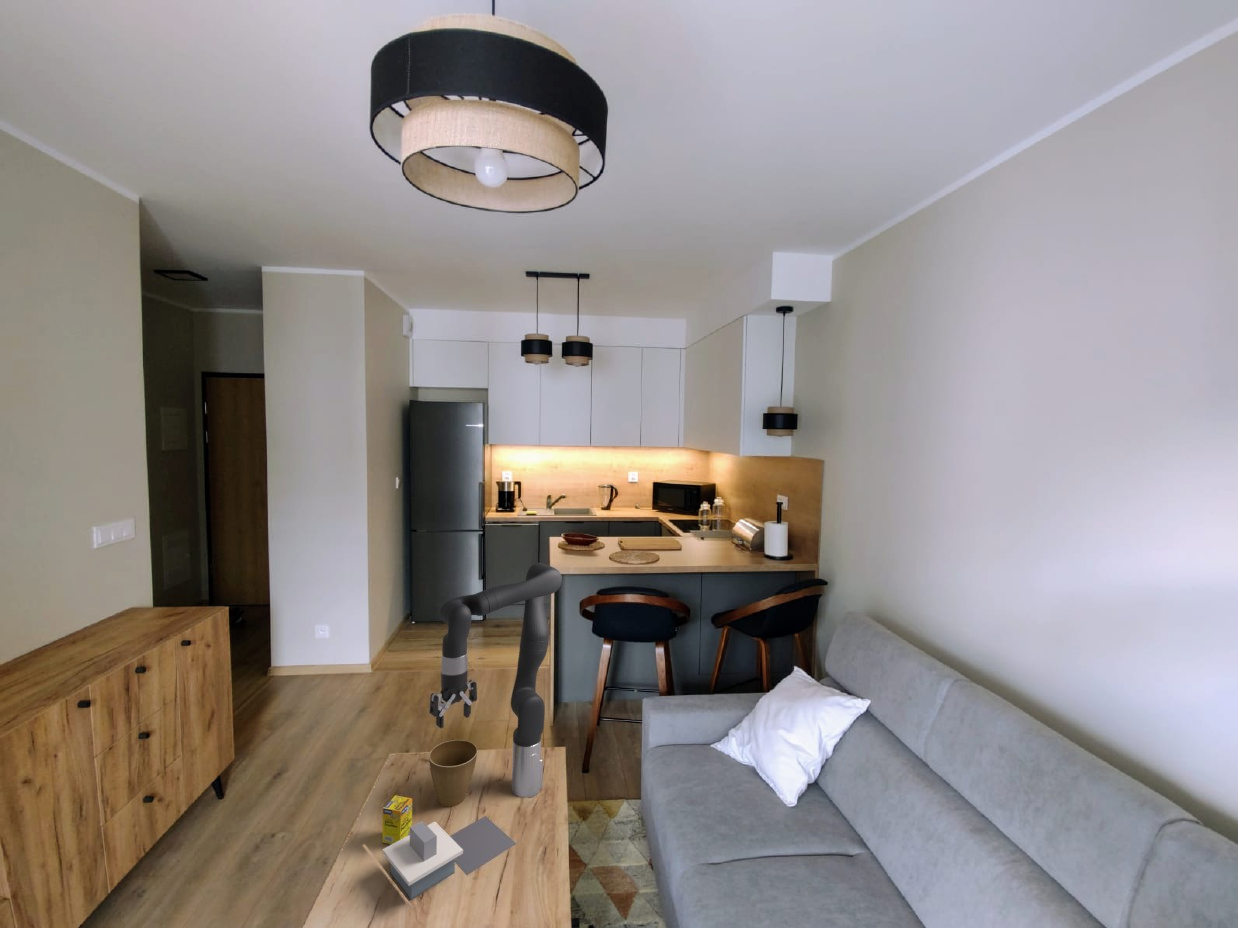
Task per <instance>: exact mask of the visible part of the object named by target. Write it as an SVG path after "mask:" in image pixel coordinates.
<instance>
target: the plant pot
mask: <svg viewBox="0 0 1238 928" xmlns="http://www.w3.org/2000/svg"><path fill="white" fill-rule="evenodd" d="M478 752H479V751H478V746H477V745H476V744H475V743H474V742H472V741H469V740H464V739H452V740H447V741H443V742H441V743H439V744H436V745H435V746H433V748H432V749H431V750H430V752H429V754H428V760H429V761H428V762H429V768H430V774H431V778H432V779H431V780H432V783H433V786H434V791H435V794H436V797H437V799H438V801H439V804H440V805H442V806H443V807H447V808H451V807H456V806H459V805H460V804H461V803H462V802H463V801H464V800H465V797H466V796H467V794H468V793H467V792H468V790H469V788H470V784H471V781H472V779H473V774H474V770H475V766H476V762H477V756H478Z"/></svg>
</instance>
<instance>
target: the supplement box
mask: <svg viewBox="0 0 1238 928" xmlns="http://www.w3.org/2000/svg"><path fill="white" fill-rule="evenodd" d="M412 824H413V798H411V797H405V796H401V795H400V796H399V795H396V794H395V795H394V796H393V797H392V798H391V800H390V801H389V802H387V803H386V805H384V806H383V807H382V831H381V832H382V837H381V838H382V840H381V841H382V844H385V845H389V846H390V845H392V844H394V843H395V842H397V841H399V840H401V839H403V838H405V837H407V836H409V835H410V827H411V826H413V825H412Z"/></svg>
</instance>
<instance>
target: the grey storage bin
mask: <svg viewBox="0 0 1238 928" xmlns="http://www.w3.org/2000/svg"><path fill="white" fill-rule="evenodd" d="M389 863H390V862H389ZM389 865H390V866H389V873H390V874H391V877H393V879H394V880H395V881H396V882H397V884H398V885H399V886H400V888H402V890H403V891H404V893H405V894H406V896H408V898H409V899H410V900H414V899H416V898H417V897H419V896H420V895H422V894H423V893H425V892H427V891H428V890H430V889H432V888H433V887H435V886H436V885H438V884H440V883H441V882H442V881H445V879H447V878H449V877H451V876H452V875H454V874H455V870H456V867H455V866H456V863H455V859H453V860H451V861H450V862H448V863H446V864H445V865H443V866H441V867H440V868H438V869H436V870H435V871H433V872H431V873H430V874H428V875H426V876H425V877H423V878H421V879H420V880H418V881H416V882H415V883H413V884H411V885H410V886H408V884H407V883H406V882H405V881H404V879H403V878H402V877H401V876H400V874H399V873H398V872H397V871H396V869H395V868H394V867H393V866H392V864H391V863H390V864H389Z"/></svg>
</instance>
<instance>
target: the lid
mask: <svg viewBox="0 0 1238 928" xmlns="http://www.w3.org/2000/svg"><path fill="white" fill-rule="evenodd" d="M450 836H451V835H449V834H448V833H447V832H446V830H444V828H442V827H441V826H440V825H439V824H438V823H437V822H436V821H433V822H431V823H429V824H428V825H427V823H425V822H424V821H423V820H421V821H418V822H417V823H415V824H413V825H412V826H411V827H410V835H409V836H407V837H405V838H403V839H401V840H399V841H397V842H395V843H394V844H392V845H389V846H386V847H384V848H382V854H383V855H384V857H385V858H386V860H388V862H389V863H391V864H392V866H393V867H394V868H395V869H396V871H397V872H398V873H399V874H400V876H401V877H402V878H403V879H404V881H405V882H406V883H407V884H408V886H410V885H411V884H413V883H415V882H416V881H418V880H420V879H421V878H423V877H425V876H426V875H428V874H430V873H431V872H433V871H435V870H436V869H438V868H440V867H441V866H443V865H445V864H446V863H448V862H450V861H451V860H453V859H455V858H456V857H458V856H460V855H461V854H463V849H462V848H461V847H460V846H459V845H458V844H457V843H456V842H455V841H454V840H453V839H452V838H451V837H450Z"/></svg>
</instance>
